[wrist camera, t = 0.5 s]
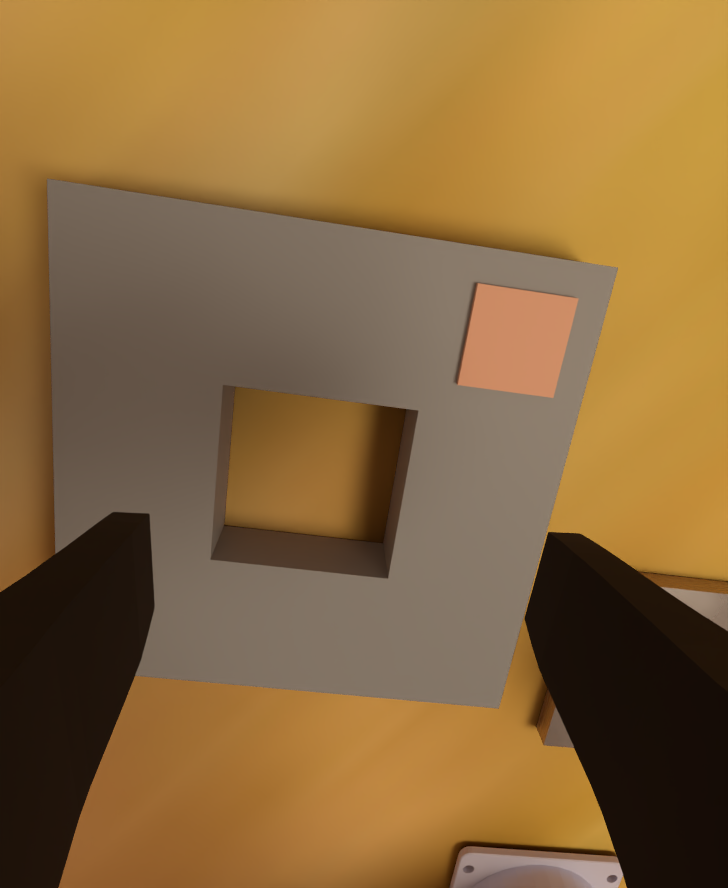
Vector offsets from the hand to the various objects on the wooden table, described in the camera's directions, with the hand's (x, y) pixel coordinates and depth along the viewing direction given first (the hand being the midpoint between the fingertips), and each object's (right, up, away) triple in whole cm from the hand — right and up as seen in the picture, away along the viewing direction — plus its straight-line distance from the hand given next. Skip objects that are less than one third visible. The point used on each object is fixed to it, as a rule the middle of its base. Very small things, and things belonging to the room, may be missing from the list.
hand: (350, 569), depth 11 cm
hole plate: (-2, +2, +11) cm, 11 cm away
